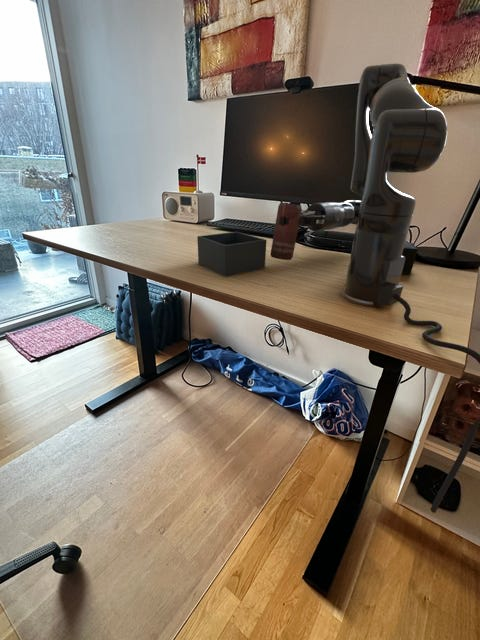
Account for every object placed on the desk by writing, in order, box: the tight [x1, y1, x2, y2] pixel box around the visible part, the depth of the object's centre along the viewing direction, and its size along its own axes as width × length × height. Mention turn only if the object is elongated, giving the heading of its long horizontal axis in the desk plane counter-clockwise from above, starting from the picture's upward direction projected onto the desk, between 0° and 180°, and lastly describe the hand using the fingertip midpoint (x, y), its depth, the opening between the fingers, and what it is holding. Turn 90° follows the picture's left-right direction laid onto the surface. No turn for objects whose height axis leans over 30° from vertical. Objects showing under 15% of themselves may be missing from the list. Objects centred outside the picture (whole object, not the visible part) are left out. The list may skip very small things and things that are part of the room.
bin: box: [196, 231, 268, 277], centre depth 81 cm, size 13×13×8 cm
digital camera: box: [401, 240, 419, 276], centre depth 82 cm, size 10×5×7 cm, turn 168°
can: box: [270, 201, 303, 261], centre depth 79 cm, size 6×6×14 cm
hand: (281, 221), depth 76 cm, fingers closed
